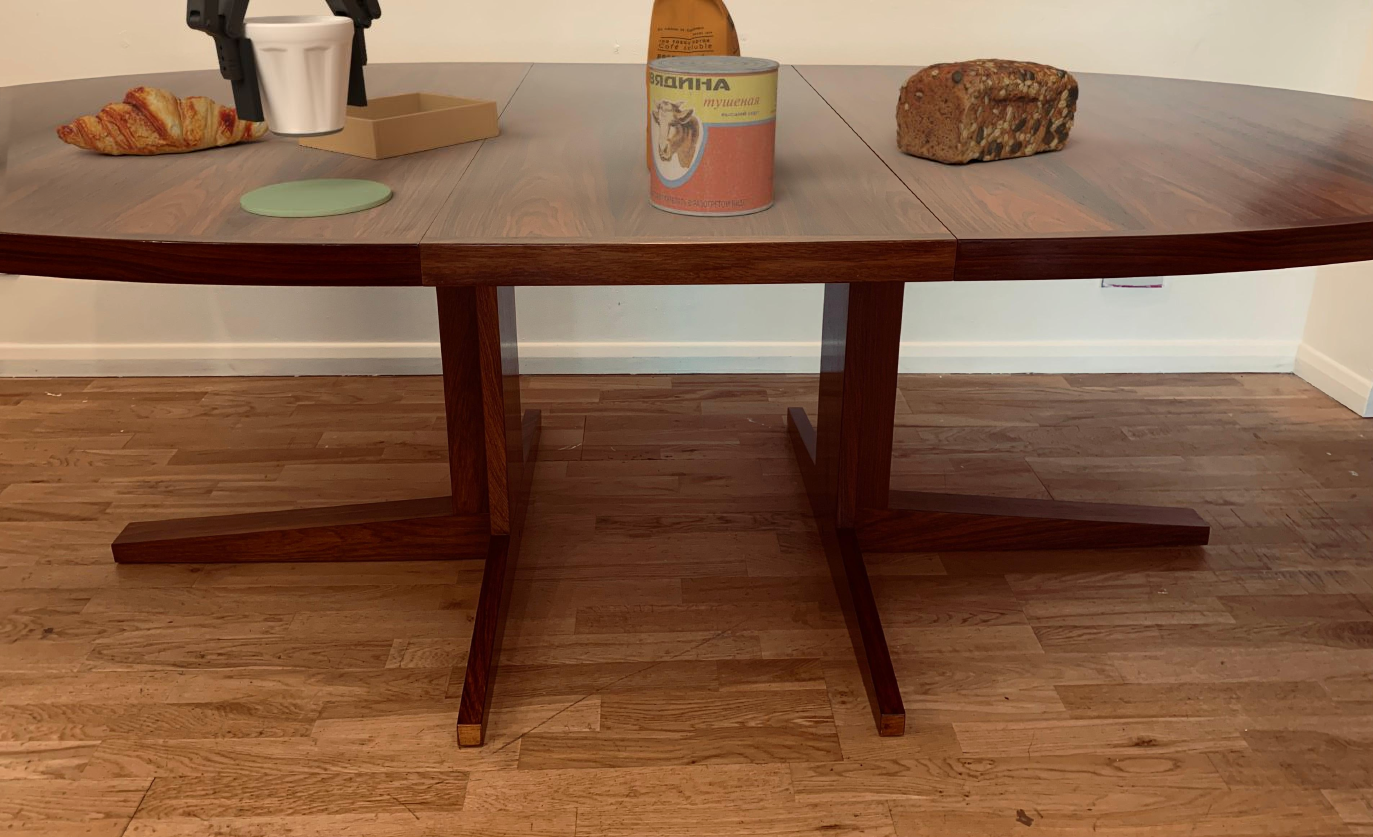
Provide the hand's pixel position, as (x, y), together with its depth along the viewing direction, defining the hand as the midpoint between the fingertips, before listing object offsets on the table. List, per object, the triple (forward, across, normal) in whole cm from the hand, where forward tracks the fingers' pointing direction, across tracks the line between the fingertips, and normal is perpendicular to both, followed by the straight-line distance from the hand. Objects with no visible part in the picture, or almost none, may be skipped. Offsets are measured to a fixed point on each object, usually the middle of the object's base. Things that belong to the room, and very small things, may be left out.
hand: (305, 112), depth 89 cm
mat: (+8, 0, 0) cm, 8 cm away
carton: (+8, +24, +17) cm, 30 cm away
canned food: (+8, +21, -29) cm, 37 cm away
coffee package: (+8, +34, -18) cm, 39 cm away
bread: (+8, +59, -40) cm, 72 cm away
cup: (+2, 0, 0) cm, 2 cm away
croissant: (+8, +5, +33) cm, 34 cm away
